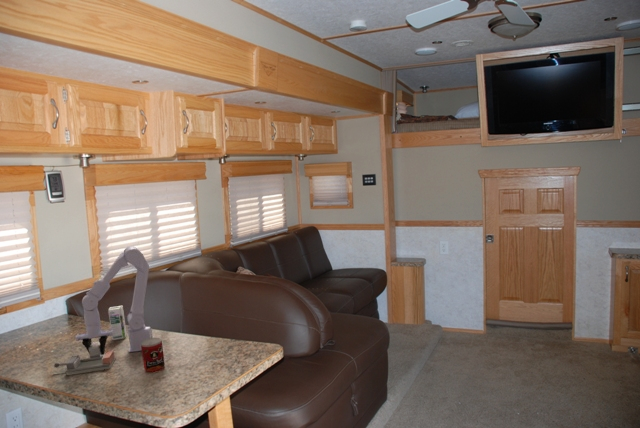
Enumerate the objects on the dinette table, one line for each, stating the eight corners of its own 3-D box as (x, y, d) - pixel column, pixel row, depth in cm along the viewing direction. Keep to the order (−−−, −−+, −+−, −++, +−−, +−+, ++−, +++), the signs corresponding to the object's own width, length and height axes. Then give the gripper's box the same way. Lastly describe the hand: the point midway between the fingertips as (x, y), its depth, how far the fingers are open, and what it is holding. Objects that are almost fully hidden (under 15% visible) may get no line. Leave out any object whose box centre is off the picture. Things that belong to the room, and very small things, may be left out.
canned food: (146, 374, 189) (142, 346, 188) (142, 367, 196) (139, 340, 195) (166, 369, 193) (163, 341, 191) (163, 362, 200) (159, 336, 198)
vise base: (115, 358, 208) (114, 349, 208) (109, 368, 198) (108, 358, 198) (59, 367, 204) (58, 357, 204) (50, 377, 194) (49, 367, 194)
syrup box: (112, 340, 231) (107, 310, 230) (114, 336, 237) (110, 306, 235) (125, 338, 233) (121, 308, 231) (126, 334, 238) (122, 304, 237)
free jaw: (114, 357, 207) (113, 350, 206) (110, 364, 199) (109, 357, 199) (106, 358, 206) (105, 351, 206) (102, 365, 199) (101, 358, 198)
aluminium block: (104, 354, 215) (102, 340, 214) (100, 360, 208) (98, 346, 207) (95, 355, 214) (93, 342, 213) (90, 361, 207) (88, 347, 207)
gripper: (113, 317, 214) (117, 348, 216) (77, 322, 212) (81, 353, 214) (109, 323, 208) (113, 354, 209) (72, 328, 205) (76, 360, 207)
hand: (97, 354), depth 211 cm, fingers closed on aluminium block, 4 cm apart
